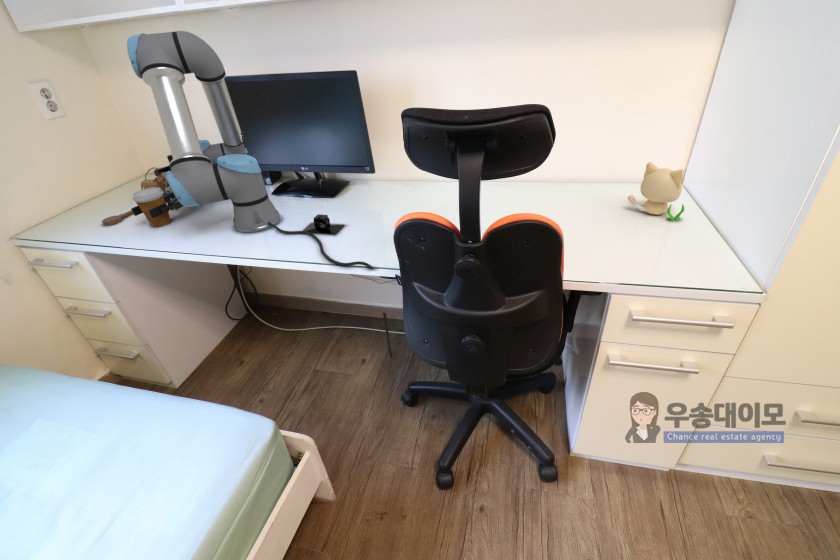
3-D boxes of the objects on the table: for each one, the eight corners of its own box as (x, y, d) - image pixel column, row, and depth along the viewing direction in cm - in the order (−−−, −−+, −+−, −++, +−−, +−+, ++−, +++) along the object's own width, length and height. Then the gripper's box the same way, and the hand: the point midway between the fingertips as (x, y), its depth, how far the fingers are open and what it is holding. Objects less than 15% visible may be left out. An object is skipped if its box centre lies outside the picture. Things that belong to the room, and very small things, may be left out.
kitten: (689, 215, 118) (705, 166, 110) (670, 225, 114) (686, 175, 105) (641, 201, 129) (653, 155, 120) (623, 210, 124) (634, 163, 116)
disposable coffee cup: (141, 226, 141) (125, 195, 135) (165, 215, 148) (151, 185, 141) (157, 230, 137) (141, 198, 131) (181, 219, 144) (167, 188, 137)
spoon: (165, 201, 162) (164, 197, 161) (110, 226, 144) (108, 222, 143) (155, 200, 164) (153, 196, 163) (99, 224, 146) (97, 221, 145)
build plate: (301, 233, 128) (297, 220, 125) (312, 223, 133) (308, 210, 131) (335, 235, 124) (332, 221, 122) (345, 225, 130) (342, 212, 128)
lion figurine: (178, 190, 173) (169, 170, 168) (175, 194, 168) (166, 173, 163) (142, 195, 170) (132, 175, 165) (137, 199, 166) (127, 179, 161)
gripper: (217, 200, 152) (168, 226, 134) (178, 196, 159) (126, 220, 141) (210, 181, 148) (158, 205, 130) (170, 178, 154) (116, 200, 137)
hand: (142, 213), depth 136 cm, fingers closed on disposable coffee cup, 8 cm apart
